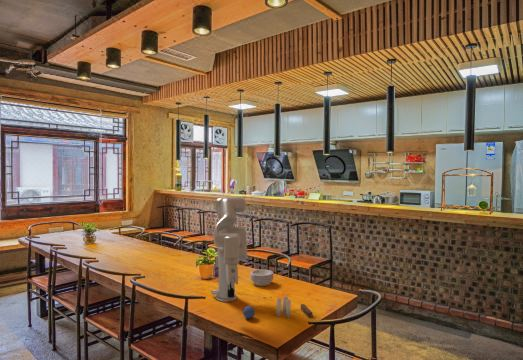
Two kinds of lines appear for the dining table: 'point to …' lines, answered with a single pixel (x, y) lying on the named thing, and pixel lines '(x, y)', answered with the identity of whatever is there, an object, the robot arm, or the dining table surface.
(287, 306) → the back right pin
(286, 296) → the back left pin
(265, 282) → the paper bowls
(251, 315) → the ball
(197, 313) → the dining table surface
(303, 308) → the wall
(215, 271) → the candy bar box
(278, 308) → the front pin
